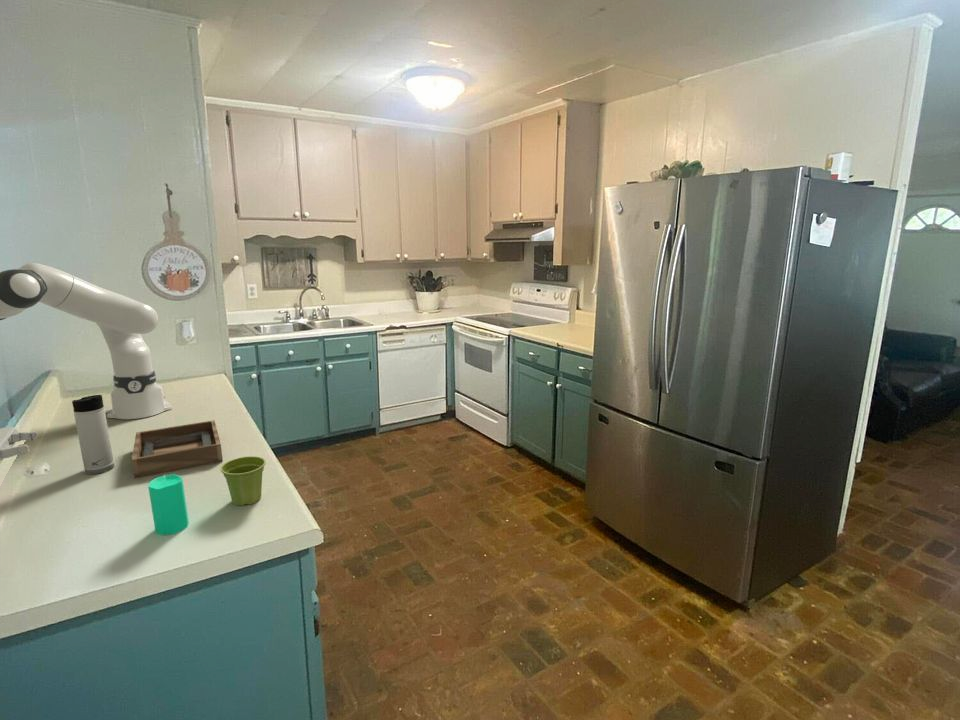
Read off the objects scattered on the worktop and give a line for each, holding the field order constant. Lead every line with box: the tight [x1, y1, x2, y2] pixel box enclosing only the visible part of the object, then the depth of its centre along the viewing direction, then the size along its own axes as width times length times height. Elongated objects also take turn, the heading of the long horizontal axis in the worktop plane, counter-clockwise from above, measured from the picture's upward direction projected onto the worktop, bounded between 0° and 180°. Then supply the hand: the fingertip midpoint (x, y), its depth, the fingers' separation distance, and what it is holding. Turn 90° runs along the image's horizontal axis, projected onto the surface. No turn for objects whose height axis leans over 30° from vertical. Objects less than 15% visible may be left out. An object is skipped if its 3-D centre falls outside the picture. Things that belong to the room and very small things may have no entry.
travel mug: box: [71, 394, 115, 475], centre depth 133 cm, size 6×7×20 cm
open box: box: [131, 419, 224, 479], centre depth 143 cm, size 22×20×5 cm
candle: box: [147, 473, 190, 536], centre depth 106 cm, size 6×6×12 cm
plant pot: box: [220, 455, 267, 506], centre depth 118 cm, size 9×9×9 cm
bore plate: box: [143, 431, 212, 457], centre depth 143 cm, size 16×16×2 cm
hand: (32, 441), depth 127 cm, fingers open, 8 cm apart
